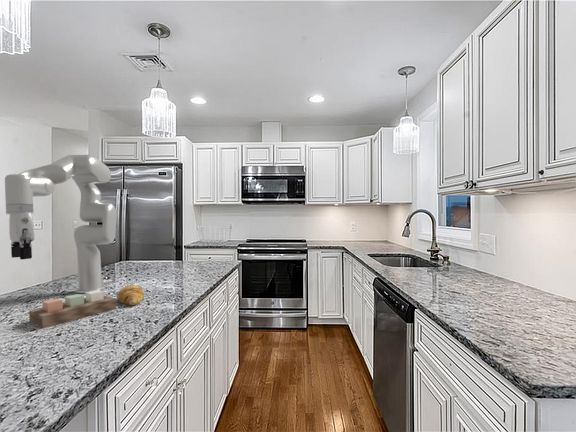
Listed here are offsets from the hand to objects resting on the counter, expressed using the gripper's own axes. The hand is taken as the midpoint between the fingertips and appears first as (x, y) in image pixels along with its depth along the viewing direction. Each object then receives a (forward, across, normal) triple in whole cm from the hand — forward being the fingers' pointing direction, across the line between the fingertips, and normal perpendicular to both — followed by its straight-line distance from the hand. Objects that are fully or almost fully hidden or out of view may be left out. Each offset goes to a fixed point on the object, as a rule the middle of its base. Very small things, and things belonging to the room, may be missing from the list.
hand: (21, 258), depth 116 cm
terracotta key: (+19, -10, -6) cm, 22 cm away
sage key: (+19, -9, -13) cm, 25 cm away
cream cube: (+19, -9, -20) cm, 29 cm away
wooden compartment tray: (+22, -9, -13) cm, 27 cm away
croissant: (+22, -9, -34) cm, 42 cm away
